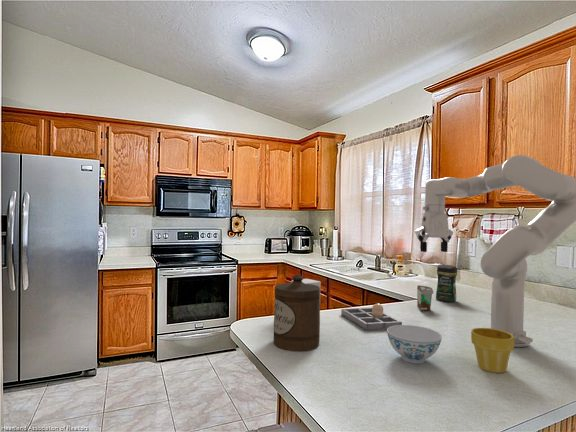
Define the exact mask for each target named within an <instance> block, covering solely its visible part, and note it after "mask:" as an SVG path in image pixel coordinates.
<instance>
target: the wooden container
mask: <svg viewBox="0 0 576 432" xmlns="http://www.w3.org/2000/svg"><path fill="white" fill-rule="evenodd" d="M303 279H304V277H303V276H302V275H301V274H298V273H297V274H294V275H293V276H292V279H291V280H294V281H293V282H292V283H291V282H289V283H279V284H276V285H275V286H274V311H273V312H274V314H273V344H274V345H275V346H276V347H277V348H279V349H282V350H286V351H293V352H305V351H311V350H314V349H316V348H318V347H319V345H320V340H321V339H320V336H321V335H320V332H321V331H320V330H321V328H320V327H321V326H320V325H321V324H320V323H321V290H320V287H319V286H316V285H312V284H304V283H303V282H302V280H303Z"/></svg>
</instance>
